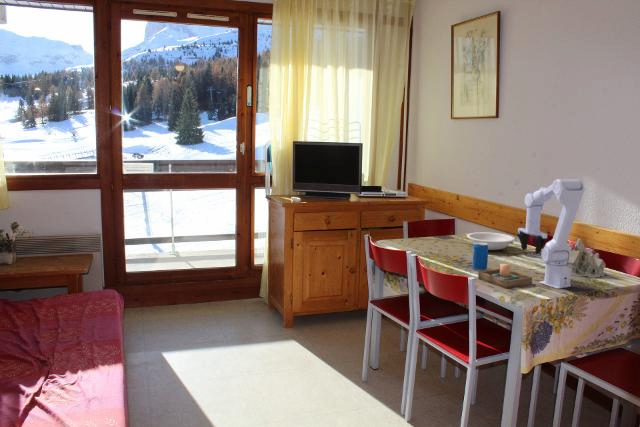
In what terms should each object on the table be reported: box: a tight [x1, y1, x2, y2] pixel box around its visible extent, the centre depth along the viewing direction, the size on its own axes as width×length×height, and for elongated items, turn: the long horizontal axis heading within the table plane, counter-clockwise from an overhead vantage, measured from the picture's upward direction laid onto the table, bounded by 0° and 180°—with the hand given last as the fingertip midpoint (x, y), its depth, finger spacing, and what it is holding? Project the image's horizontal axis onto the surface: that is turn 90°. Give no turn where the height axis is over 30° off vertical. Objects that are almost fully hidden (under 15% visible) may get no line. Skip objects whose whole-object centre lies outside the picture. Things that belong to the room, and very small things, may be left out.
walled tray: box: [477, 268, 533, 290], centre depth 231 cm, size 16×14×3 cm
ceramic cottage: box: [565, 238, 606, 278], centre depth 244 cm, size 16×16×15 cm
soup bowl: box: [466, 231, 516, 251], centre depth 290 cm, size 24×24×7 cm
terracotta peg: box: [499, 263, 511, 278], centre depth 231 cm, size 4×4×6 cm
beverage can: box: [471, 242, 489, 272], centre depth 249 cm, size 6×6×12 cm
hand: (530, 251), depth 245 cm, fingers open, 7 cm apart
